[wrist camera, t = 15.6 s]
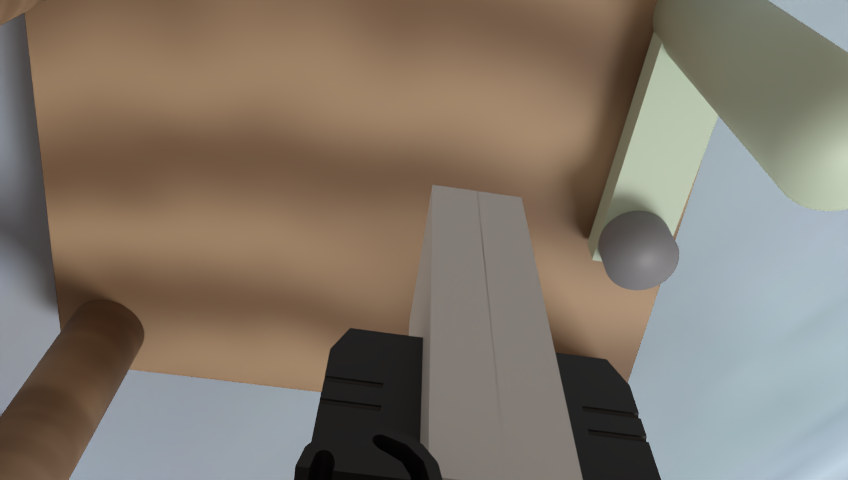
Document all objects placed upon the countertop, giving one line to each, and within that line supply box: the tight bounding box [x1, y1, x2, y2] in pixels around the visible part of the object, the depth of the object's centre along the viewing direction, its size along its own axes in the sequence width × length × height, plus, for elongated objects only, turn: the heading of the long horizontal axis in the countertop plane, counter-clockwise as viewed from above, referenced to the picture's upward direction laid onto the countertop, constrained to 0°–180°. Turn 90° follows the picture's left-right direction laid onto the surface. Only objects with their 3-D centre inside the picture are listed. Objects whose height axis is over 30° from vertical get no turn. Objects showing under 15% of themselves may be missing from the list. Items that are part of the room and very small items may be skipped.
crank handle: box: [587, 0, 848, 290], centre depth 23 cm, size 11×3×11 cm, turn 170°
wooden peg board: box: [0, 0, 701, 480], centre depth 26 cm, size 20×24×14 cm
